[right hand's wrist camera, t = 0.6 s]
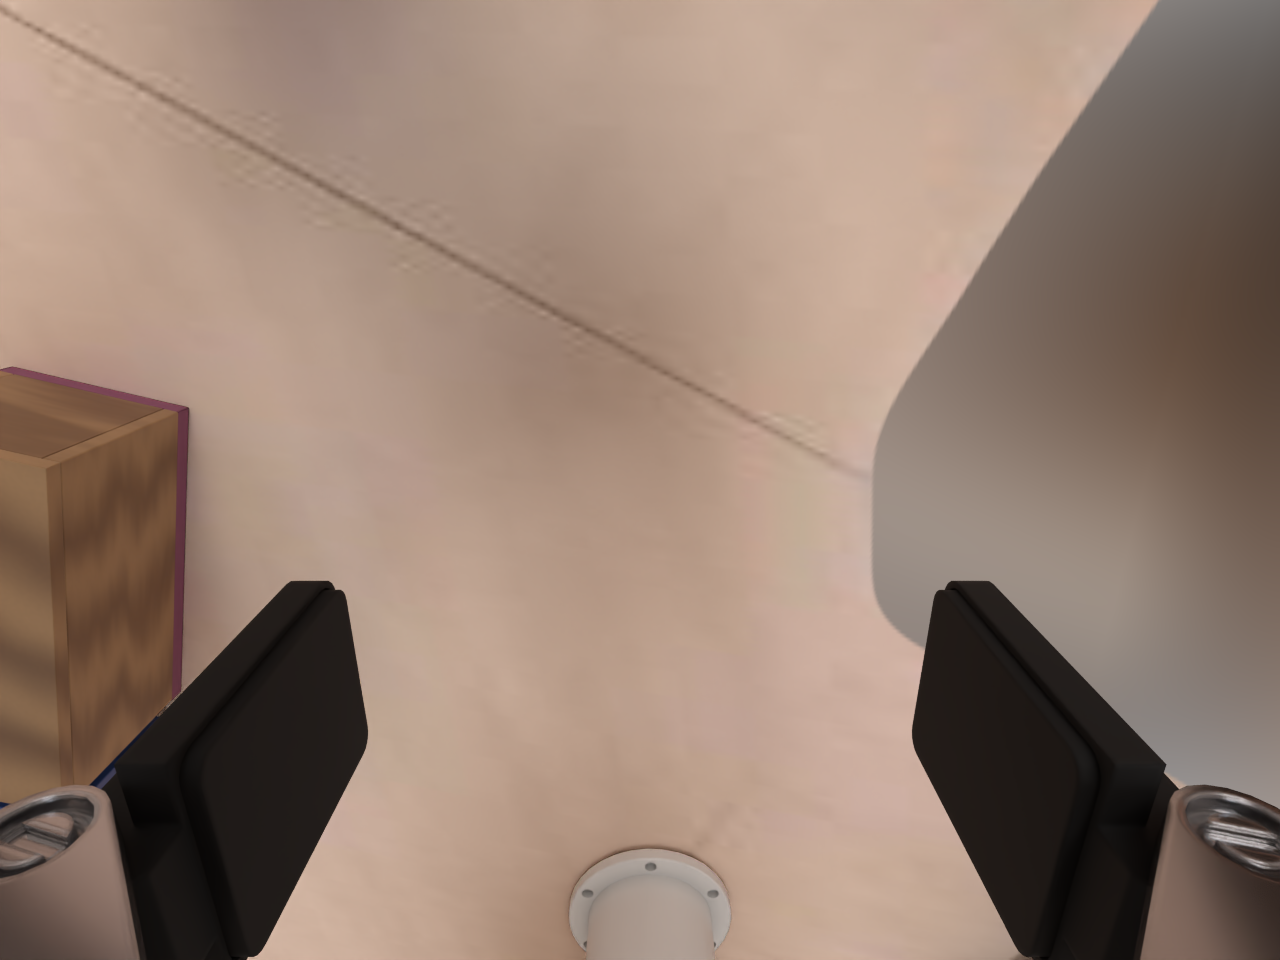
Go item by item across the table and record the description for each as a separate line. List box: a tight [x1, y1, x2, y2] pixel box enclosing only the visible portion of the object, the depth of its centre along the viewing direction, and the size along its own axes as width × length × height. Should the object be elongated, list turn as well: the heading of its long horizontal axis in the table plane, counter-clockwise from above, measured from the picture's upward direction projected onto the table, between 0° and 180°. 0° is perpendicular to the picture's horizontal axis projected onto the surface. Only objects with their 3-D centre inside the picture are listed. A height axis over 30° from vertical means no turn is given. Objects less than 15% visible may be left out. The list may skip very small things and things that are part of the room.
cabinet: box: [0, 367, 189, 804], centre depth 39 cm, size 21×10×11 cm, turn 166°
